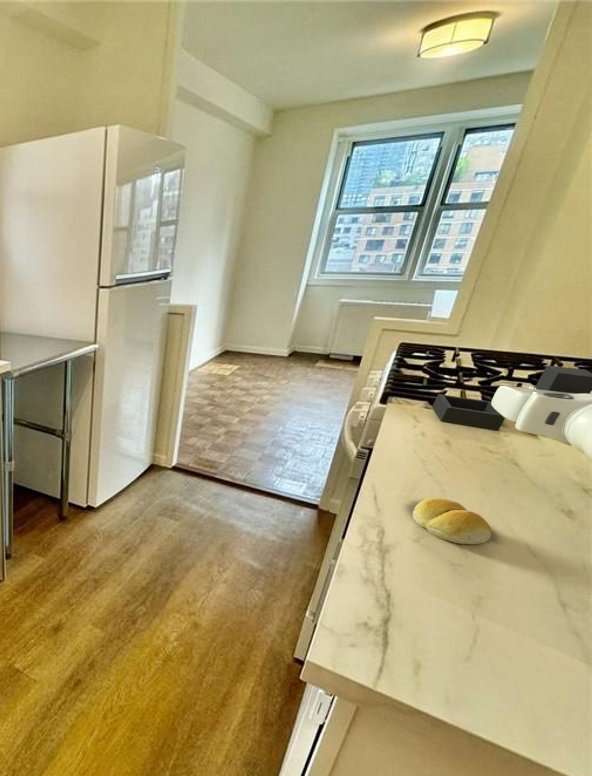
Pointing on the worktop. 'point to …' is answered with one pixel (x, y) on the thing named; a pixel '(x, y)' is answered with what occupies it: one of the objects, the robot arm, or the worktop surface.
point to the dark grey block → (566, 380)
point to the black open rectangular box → (467, 412)
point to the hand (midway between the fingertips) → (555, 393)
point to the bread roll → (451, 521)
